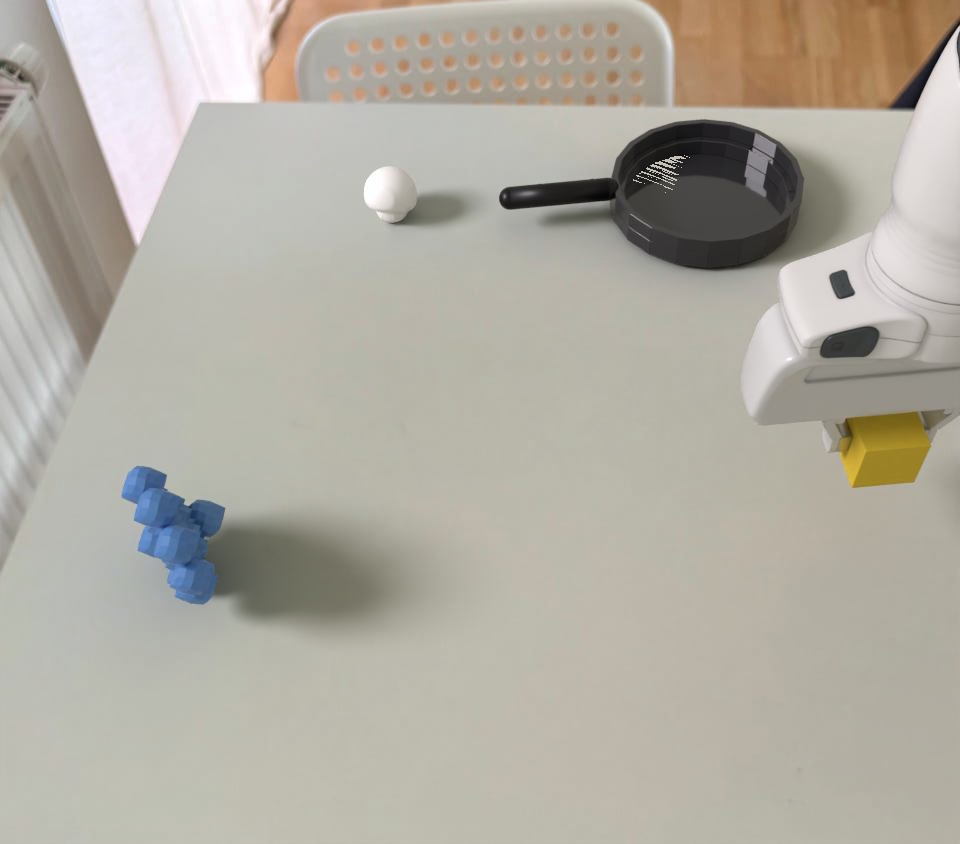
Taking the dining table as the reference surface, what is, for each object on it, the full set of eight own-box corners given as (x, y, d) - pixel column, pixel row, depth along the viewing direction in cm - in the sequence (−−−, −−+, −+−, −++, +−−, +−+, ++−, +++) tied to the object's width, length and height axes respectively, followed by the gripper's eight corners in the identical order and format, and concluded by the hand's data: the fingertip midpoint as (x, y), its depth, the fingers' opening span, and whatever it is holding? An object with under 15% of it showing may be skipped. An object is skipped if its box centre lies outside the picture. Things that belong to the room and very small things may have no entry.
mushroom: (361, 230, 104) (354, 185, 100) (375, 197, 106) (368, 152, 102) (412, 235, 103) (407, 191, 99) (424, 202, 106) (420, 157, 101)
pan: (772, 143, 108) (778, 111, 105) (816, 262, 99) (825, 230, 96) (598, 159, 108) (599, 128, 105) (626, 280, 98) (628, 249, 96)
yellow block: (887, 412, 79) (902, 374, 76) (914, 482, 76) (931, 445, 73) (826, 418, 79) (839, 380, 76) (851, 488, 76) (865, 451, 72)
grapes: (277, 609, 81) (240, 513, 71) (192, 653, 79) (142, 561, 69) (213, 503, 87) (171, 400, 77) (133, 541, 85) (79, 442, 75)
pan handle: (616, 190, 102) (617, 172, 100) (619, 204, 101) (621, 186, 99) (498, 201, 102) (497, 183, 100) (500, 215, 101) (499, 197, 99)
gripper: (1088, 239, 67) (1006, 394, 78) (754, 268, 67) (721, 419, 78) (1131, 312, 63) (1039, 463, 75) (778, 343, 63) (740, 490, 75)
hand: (874, 441), depth 76 cm, fingers closed on yellow block, 4 cm apart
